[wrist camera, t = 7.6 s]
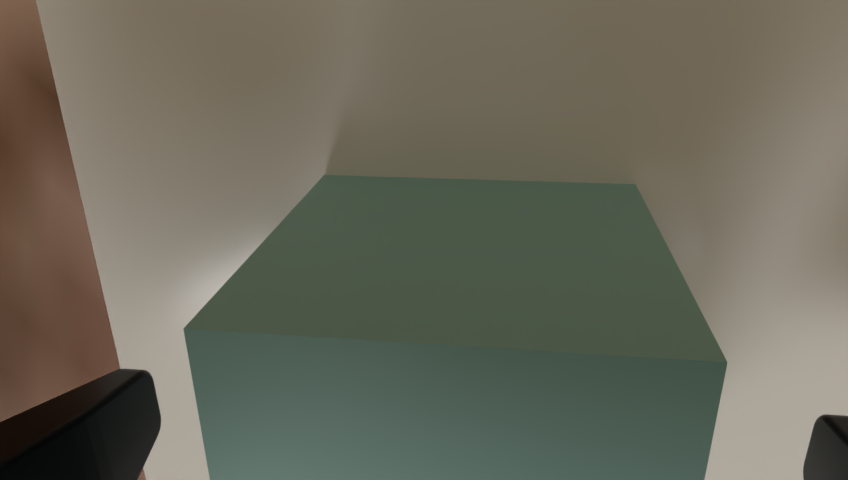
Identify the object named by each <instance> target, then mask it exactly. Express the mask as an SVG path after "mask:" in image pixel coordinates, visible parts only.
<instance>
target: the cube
mask: <svg viewBox="0 0 848 480" xmlns="http://www.w3.org/2000/svg"><path fill="white" fill-rule="evenodd" d="M183 330H184V335H185V341H186V347H187V352H188V358H189V364H190V369H191V375H192V381H193V387H194V392H195V398H196V404H197V409H198V415H199V421H200V426H201V432H202V438H203V443H204V449H205V455H206V460H207V466H208V472H209V478H210V480H704V479H705V474H706V469H707V464H708V459H709V454H710V449H711V444H712V439H713V434H714V429H715V424H716V419H717V413H718V408H719V403H720V398H721V393H722V388H723V383H724V378H725V373H726V368H727V363H728V362H727V360H726V358H725V356H724V354H723V353H722V351H721V349H720V347H719V345H718V343H717V341H716V339H715V337H714V335H713V333H712V331H711V329H710V327H709V325H708V324H707V322H706V320H705V318H704V316H703V314H702V312H701V310H700V308H699V306H698V304H697V302H696V300H695V298H694V296H693V294H692V293H691V291H690V289H689V287H688V285H687V283H686V281H685V279H684V277H683V275H682V273H681V271H680V269H679V267H678V265H677V264H676V262H675V260H674V258H673V256H672V254H671V252H670V250H669V248H668V246H667V244H666V242H665V240H664V238H663V236H662V234H661V233H660V231H659V229H658V227H657V225H656V223H655V221H654V219H653V217H652V215H651V213H650V211H649V209H648V207H647V205H646V204H645V202H644V200H643V198H642V196H641V194H640V192H639V190H638V188H637V186H636V184H611V183H577V182H544V181H510V180H477V179H443V178H409V177H376V176H342V175H323V177H322V178H321V179H320V180H319V181H318V182H317V183H316V184H315V185H314V186H313V187H312V189H311V190H310V191H309V192H308V193H307V194H306V195H305V196H304V197H303V198H302V200H301V201H300V202H299V203H298V204H297V205H296V206H295V207H294V208H293V209H292V210H291V212H290V213H289V214H288V215H287V216H286V217H285V218H284V219H283V220H282V221H281V222H280V224H279V225H278V226H277V227H276V228H275V229H274V230H273V231H272V232H271V233H270V234H269V236H268V237H267V238H266V239H265V240H264V241H263V242H262V243H261V244H260V245H259V247H258V248H257V249H256V250H255V251H254V252H253V253H252V254H251V255H250V256H249V257H248V259H247V260H246V261H245V262H244V263H243V264H242V265H241V266H240V267H239V268H238V269H237V271H236V272H235V273H234V274H233V275H232V276H231V277H230V278H229V279H228V280H227V281H226V283H225V284H224V285H223V286H222V287H221V288H220V289H219V290H218V291H217V292H216V294H215V295H214V296H213V297H212V298H211V299H210V300H209V301H208V302H207V303H206V304H205V306H204V307H203V308H202V309H201V310H200V311H199V312H198V313H197V314H196V315H195V316H194V318H193V319H192V320H191V321H190V322H189V323H188V324H187V325H186V326H185V327H184V329H183Z"/></svg>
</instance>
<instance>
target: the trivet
mask: <svg viewBox="0 0 848 480" xmlns="http://www.w3.org/2000/svg"><path fill="white" fill-rule="evenodd" d="M36 3H37V8H38V12H39V16H40V21H41V25H42V29H43V34H44V38H45V42H46V47H47V51H48V55H49V60H50V64H51V68H52V73H53V77H54V81H55V86H56V90H57V94H58V99H59V103H60V107H61V112H62V116H63V121H64V125H65V129H66V134H67V138H68V142H69V147H70V151H71V155H72V160H73V164H74V168H75V173H76V177H77V181H78V186H79V190H80V194H81V199H82V203H83V207H84V212H85V216H86V220H87V225H88V229H89V233H90V238H91V242H92V247H93V251H94V255H95V260H96V264H97V268H98V273H99V277H100V281H101V286H102V290H103V294H104V299H105V303H106V307H107V312H108V316H109V320H110V325H111V329H112V333H113V338H114V342H115V346H116V351H117V355H118V359H119V364H120V368H121V369H123V368H124V369H140V370H146V371H148V372H149V373H150V374H151V375H152V377H153V380H154V385H155V390H156V394H157V399H158V404H159V409H160V413H161V428H160V431H159V434H158V437H157V439H156V441H155V443H154V445H153V448H152V450H151V452H150V454H149V456H148V458H147V461H146V463H145V465H144V467H143V468H144V472H145V477H146V480H210V478H209V472H208V466H207V460H206V455H205V449H204V443H203V438H202V432H201V426H200V421H199V415H198V409H197V404H196V398H195V392H194V387H193V381H192V375H191V369H190V364H189V358H188V352H187V347H186V341H185V335H184V330H183V329H184V327H185V326H186V325H187V324H188V323H189V322H190V321H191V320H192V319H193V318H194V316H195V315H196V314H197V313H198V312H199V311H200V310H201V309H202V308H203V307H204V306H205V304H206V303H207V302H208V301H209V300H210V299H211V298H212V297H213V296H214V295H215V294H216V292H217V291H218V290H219V289H220V288H221V287H222V286H223V285H224V284H225V283H226V281H227V280H228V279H229V278H230V277H231V276H232V275H233V274H234V273H235V272H236V271H237V269H238V268H239V267H240V266H241V265H242V264H243V263H244V262H245V261H246V260H247V259H248V257H249V256H250V255H251V254H252V253H253V252H254V251H255V250H256V249H257V248H258V247H259V245H260V244H261V243H262V242H263V241H264V240H265V239H266V238H267V237H268V236H269V234H270V233H271V232H272V231H273V230H274V229H275V228H276V227H277V226H278V225H279V224H280V222H281V221H282V220H283V219H284V218H285V217H286V216H287V215H288V214H289V213H290V212H291V210H292V209H293V208H294V207H295V206H296V205H297V204H298V203H299V202H300V201H301V200H302V198H303V197H304V196H305V195H306V194H307V193H308V192H309V191H310V190H311V189H312V187H313V186H314V185H315V184H316V183H317V182H318V181H319V180H320V179H321V178H322V177H323V175H342V176H376V177H409V178H443V179H477V180H510V181H544V182H577V183H611V184H636V186H637V188H638V190H639V192H640V194H641V196H642V198H643V200H644V202H645V204H646V205H647V207H648V209H649V211H650V213H651V215H652V217H653V219H654V221H655V223H656V225H657V227H658V229H659V231H660V233H661V234H662V236H663V238H664V240H665V242H666V244H667V246H668V248H669V250H670V252H671V254H672V256H673V258H674V260H675V262H676V264H677V265H678V267H679V269H680V271H681V273H682V275H683V277H684V279H685V281H686V283H687V285H688V287H689V289H690V291H691V293H692V294H693V296H694V298H695V300H696V302H697V304H698V306H699V308H700V310H701V312H702V314H703V316H704V318H705V320H706V322H707V324H708V325H709V327H710V329H711V331H712V333H713V335H714V337H715V339H716V341H717V343H718V345H719V347H720V349H721V351H722V353H723V354H724V356H725V358H726V360H727V362H728V363H727V368H726V373H725V378H724V383H723V388H722V393H721V398H720V403H719V408H718V413H717V419H716V424H715V429H714V434H713V439H712V444H711V449H710V454H709V459H708V464H707V469H706V474H705V479H704V480H804V479H803V466H804V461H805V457H806V453H807V449H808V446H809V442H810V438H811V434H812V430H813V426H814V423H815V421H816V420H817V418H818V417H819V416H821V415H823V414H830V415H845V416H848V0H36Z"/></svg>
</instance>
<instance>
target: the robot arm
mask: <svg viewBox="0 0 848 480" xmlns="http://www.w3.org/2000/svg"><path fill="white" fill-rule="evenodd" d="M160 428H161V413H160V409H159V404H158V399H157V394H156V390H155V385H154V380H153V377H152V375H151V374H150V373H149V372H148V371H146V370H140V369H124V368H123V369H118V370H116V371H113V372H111V373H109V374H107V375H104V376H102V377H100V378H98V379H96V380H93V381H91V382H89V383H87V384H84V385H82V386H80V387H78V388H75V389H73V390H71V391H69V392H67V393H64V394H62V395H60V396H58V397H55V398H53V399H51V400H49V401H47V402H44V403H42V404H40V405H38V406H35V407H33V408H31V409H29V410H26V411H24V412H22V413H20V414H18V415H15V416H13V417H11V418H9V419H6V420H4V421H2V422H0V480H138V478H139V476H140V474H141V471H142V469H143V467H144V465H145V463H146V461H147V458H148V456H149V454H150V452H151V450H152V448H153V445H154V443H155V441H156V439H157V437H158V434H159V431H160ZM803 479H804V480H848V416H845V415H830V414H823V415H821V416H819V417H818V418H817V420H816V421H815V423H814V426H813V430H812V434H811V438H810V442H809V446H808V449H807V453H806V457H805V461H804V466H803Z"/></svg>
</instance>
